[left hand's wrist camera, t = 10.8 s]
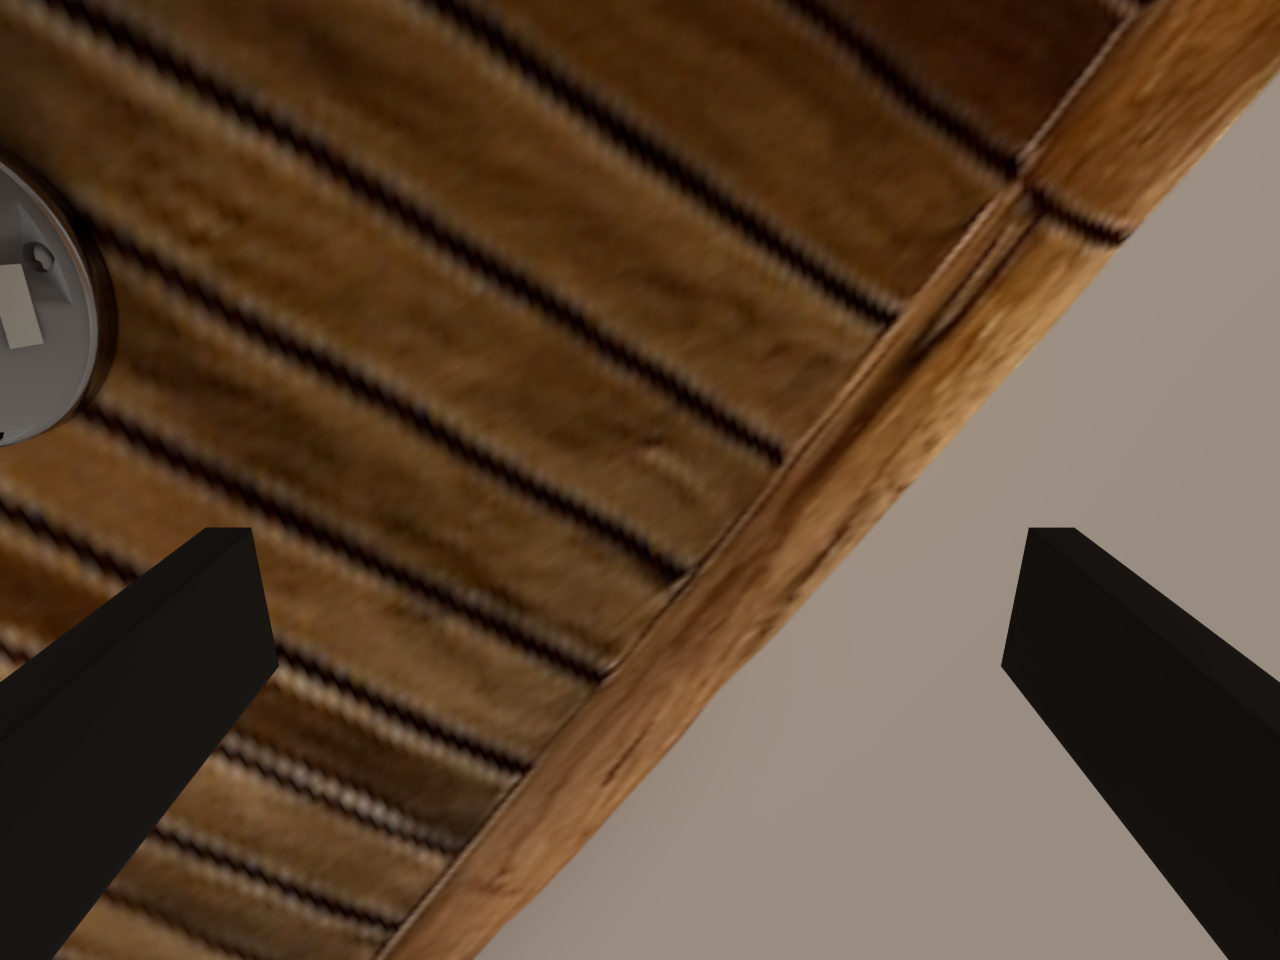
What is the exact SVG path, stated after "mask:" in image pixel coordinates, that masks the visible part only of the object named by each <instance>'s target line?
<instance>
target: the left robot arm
mask: <svg viewBox="0 0 1280 960" xmlns="http://www.w3.org/2000/svg"><path fill="white" fill-rule="evenodd" d="M115 342H116V314H115V306H114V300H113V294H112V291H111V287H110V283H109V279H108V276H107V273H106V271H105V268H104V265H103V263H102V260H101V258H100V256H99V254H98V251H97V249H96V247H95V245H94V244H93V242H92V240H91V238H90V236H89V235H88V233H87V231H86V230H85V228H84V227H83V225H82V224H81V222H80V221H79V219H78V217H77V216H76V215H75V214H74V212H73V211H72V210H71V208H70V207H69V206H68V204H67V203H66V202H65V201H64V200H63V199H62V197H61V196H60V195H59V194H58V193H57V192H56V191H55V190H54V189H53V188H52V187H51V186H50V185H49V184H48V183H47V182H46V181H45V180H44V179H43V178H42V177H41V176H40V175H39V174H38V173H36V172H35V171H34V170H33V169H31V168H30V167H29V166H28V165H27V164H25V163H24V162H23V161H21V160H20V159H18V158H17V157H16V156H14V155H13V154H11V153H10V152H8V151H7V150H5V149H3V148H2V147H0V447H4V446H9V445H13V444H16V443H19V442H22V441H25V440H27V439H30V438H32V437H35V436H38V435H40V434H43V433H45V432H48V431H50V430H53V429H55V428H57V427H59V426H61V425H63V424H65V423H66V422H68V421H69V420H71V419H73V418H74V417H75V416H76V415H78V414H79V413H80V412H81V411H83V410H84V409H85V408H86V406H87V405H88V404H89V403H90V402H91V401H92V400H93V398H94V397H95V396H96V394H97V393H98V392H99V390H100V388H101V386H102V385H103V383H104V381H105V379H106V377H107V374H108V372H109V369H110V366H111V362H112V359H113V355H114V349H115ZM278 667H279V664H278V659H277V654H276V649H275V644H274V639H273V634H272V629H271V624H270V619H269V614H268V609H267V604H266V599H265V594H264V589H263V584H262V579H261V574H260V569H259V564H258V560H257V555H256V550H255V545H254V540H253V535H252V530H251V528H205V529H203V530H202V531H201V532H199V533H198V534H197V535H195V536H194V537H193V538H191V539H190V540H189V541H187V542H186V543H185V544H183V545H182V546H181V547H179V548H178V549H177V550H175V551H174V552H173V553H171V554H170V555H169V556H167V557H166V558H165V559H163V560H162V561H161V562H159V563H158V564H157V565H155V566H154V567H153V568H151V569H150V570H149V571H147V572H146V573H145V574H143V575H142V576H141V577H139V578H138V579H137V580H135V581H134V582H133V583H131V584H130V585H129V586H128V587H126V588H125V589H124V590H122V591H121V592H120V593H118V594H117V595H116V596H114V597H113V598H112V599H110V600H109V601H108V602H106V603H105V604H104V605H102V606H101V607H100V608H98V609H97V610H96V611H94V612H93V613H92V614H90V615H89V616H88V617H86V618H85V619H84V620H82V621H81V622H80V623H78V624H77V625H76V626H74V627H73V628H72V629H70V630H69V631H68V632H66V633H65V634H64V635H62V636H61V637H60V638H58V639H57V640H56V641H54V642H53V643H52V644H51V645H49V646H48V647H47V648H45V649H44V650H43V651H41V652H40V653H39V654H37V655H36V656H35V657H33V658H32V659H31V660H29V661H28V662H27V663H25V664H24V665H23V666H21V667H20V668H19V669H17V670H16V671H15V672H13V673H12V674H11V675H9V676H8V677H7V678H5V679H4V680H3V681H1V682H0V960H52V958H53V957H54V956H55V954H56V953H57V952H58V951H59V949H60V948H61V947H62V945H63V944H64V943H65V942H66V940H67V939H68V938H69V936H70V935H71V934H72V933H73V931H74V930H75V929H76V927H77V926H78V925H79V924H80V922H81V921H82V920H83V918H84V917H85V916H86V914H87V913H88V912H89V911H90V909H91V908H92V907H93V905H94V904H95V903H96V902H97V900H98V899H99V898H100V896H101V895H102V894H103V893H104V891H105V890H106V889H107V887H108V886H109V885H110V884H111V882H112V881H113V880H114V878H115V877H116V876H117V875H118V873H119V872H120V871H121V869H122V868H123V867H124V865H125V864H126V863H127V862H128V860H129V859H130V858H131V856H132V855H133V854H134V853H135V851H136V850H137V849H138V847H139V846H140V845H141V844H142V842H143V841H144V840H145V838H146V837H147V836H148V835H149V833H150V832H151V831H152V829H153V828H154V827H155V825H156V824H157V823H158V822H159V820H160V819H161V818H162V816H163V815H164V814H165V813H166V811H167V810H168V809H169V807H170V806H171V805H172V804H173V802H174V801H175V800H176V798H177V797H178V796H179V795H180V793H181V792H182V791H183V789H184V788H185V787H186V785H187V784H188V783H189V782H190V780H191V779H192V778H193V776H194V775H195V774H196V773H197V771H198V770H199V769H200V767H201V766H202V765H203V764H204V762H205V761H206V760H207V758H208V757H209V756H210V755H211V753H212V752H213V751H214V749H215V748H216V747H217V745H218V744H219V743H220V742H221V740H222V739H223V738H224V736H225V735H226V734H227V733H228V731H229V730H230V729H231V727H232V726H233V725H234V724H235V722H236V721H237V720H238V718H239V717H240V716H241V715H242V713H243V712H244V711H245V709H246V708H247V707H248V706H249V704H250V703H251V702H252V700H253V699H254V698H255V696H256V695H257V694H258V693H259V691H260V690H261V689H262V687H263V686H264V685H265V684H266V682H267V681H268V680H269V678H270V677H271V676H272V675H273V673H274V672H275V671H276V669H277V668H278ZM1001 667H1002V668H1003V669H1004V671H1005V672H1006V673H1007V675H1008V676H1009V677H1010V678H1011V680H1012V681H1013V682H1014V684H1015V685H1016V686H1017V687H1018V689H1019V690H1020V691H1021V693H1022V694H1023V695H1024V696H1025V698H1026V699H1027V700H1028V702H1029V703H1030V704H1031V706H1032V707H1033V708H1034V709H1035V711H1036V712H1037V713H1038V715H1039V716H1040V717H1041V718H1042V720H1043V721H1044V722H1045V724H1046V725H1047V726H1048V727H1049V729H1050V730H1051V731H1052V733H1053V734H1054V735H1055V736H1056V738H1057V739H1058V740H1059V742H1060V743H1061V744H1062V745H1063V747H1064V748H1065V749H1066V751H1067V752H1068V753H1069V755H1070V756H1071V757H1072V758H1073V760H1074V761H1075V762H1076V764H1077V765H1078V766H1079V767H1080V769H1081V770H1082V771H1083V773H1084V774H1085V775H1086V776H1087V778H1088V779H1089V780H1090V782H1091V783H1092V784H1093V785H1094V787H1095V788H1096V789H1097V791H1098V792H1099V793H1100V794H1101V796H1102V797H1103V798H1104V800H1105V801H1106V802H1107V804H1108V805H1109V806H1110V807H1111V809H1112V810H1113V811H1114V813H1115V814H1116V815H1117V816H1118V818H1119V819H1120V820H1121V822H1122V823H1123V824H1124V825H1125V827H1126V828H1127V829H1128V831H1129V832H1130V833H1131V834H1132V836H1133V837H1134V838H1135V840H1136V841H1137V842H1138V844H1139V845H1140V846H1141V847H1142V849H1143V850H1144V851H1145V853H1146V854H1147V855H1148V856H1149V858H1150V859H1151V860H1152V862H1153V863H1154V864H1155V865H1156V867H1157V868H1158V869H1159V871H1160V872H1161V873H1162V874H1163V876H1164V877H1165V878H1166V880H1167V881H1168V882H1169V884H1170V885H1171V886H1172V887H1173V889H1174V890H1175V891H1176V893H1177V894H1178V895H1179V896H1180V898H1181V899H1182V900H1183V902H1184V903H1185V904H1186V905H1187V907H1188V908H1189V909H1190V911H1191V912H1192V913H1193V914H1194V916H1195V917H1196V918H1197V920H1198V921H1199V922H1200V924H1201V925H1202V926H1203V927H1204V929H1205V930H1206V931H1207V933H1208V934H1209V935H1210V936H1211V938H1212V939H1213V940H1214V942H1215V943H1216V944H1217V945H1218V947H1219V948H1220V949H1221V951H1222V952H1223V953H1224V954H1225V956H1226V957H1227V958H1228V960H1280V682H1279V681H1277V680H1276V679H1275V678H1273V677H1272V676H1271V675H1269V674H1268V673H1267V672H1265V671H1264V670H1263V669H1261V668H1260V667H1259V666H1257V665H1256V664H1255V663H1253V662H1252V661H1251V660H1249V659H1248V658H1247V657H1245V656H1244V655H1243V654H1241V653H1240V652H1239V651H1237V650H1236V649H1235V648H1233V647H1232V646H1231V645H1229V644H1228V643H1227V642H1225V641H1224V640H1223V639H1221V638H1220V637H1219V636H1218V635H1216V634H1215V633H1214V632H1212V631H1211V630H1210V629H1208V628H1207V627H1205V626H1204V625H1203V624H1202V623H1200V622H1199V621H1198V620H1196V619H1195V618H1194V617H1192V616H1191V615H1190V614H1188V613H1187V612H1186V611H1184V610H1183V609H1182V608H1180V607H1179V606H1178V605H1176V604H1175V603H1174V602H1172V601H1171V600H1170V599H1168V598H1167V597H1166V596H1164V595H1163V594H1162V593H1160V592H1159V591H1158V590H1156V589H1155V588H1154V587H1152V586H1151V585H1150V584H1148V583H1147V582H1146V581H1144V580H1143V579H1142V578H1141V577H1139V576H1138V575H1137V574H1135V573H1134V572H1133V571H1131V570H1130V569H1129V568H1127V567H1126V566H1125V565H1123V564H1122V563H1121V562H1119V561H1118V560H1117V559H1115V558H1114V557H1113V556H1111V555H1110V554H1109V553H1107V552H1106V551H1105V550H1103V549H1102V548H1101V547H1099V546H1098V545H1097V544H1095V543H1094V542H1093V541H1091V540H1090V539H1089V538H1087V537H1086V536H1085V535H1083V534H1082V533H1081V532H1079V531H1078V530H1077V529H1075V528H1029V530H1028V535H1027V540H1026V545H1025V550H1024V555H1023V560H1022V565H1021V569H1020V575H1019V579H1018V584H1017V589H1016V594H1015V599H1014V604H1013V609H1012V614H1011V619H1010V624H1009V629H1008V634H1007V639H1006V644H1005V649H1004V654H1003V659H1002V664H1001Z"/></svg>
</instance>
